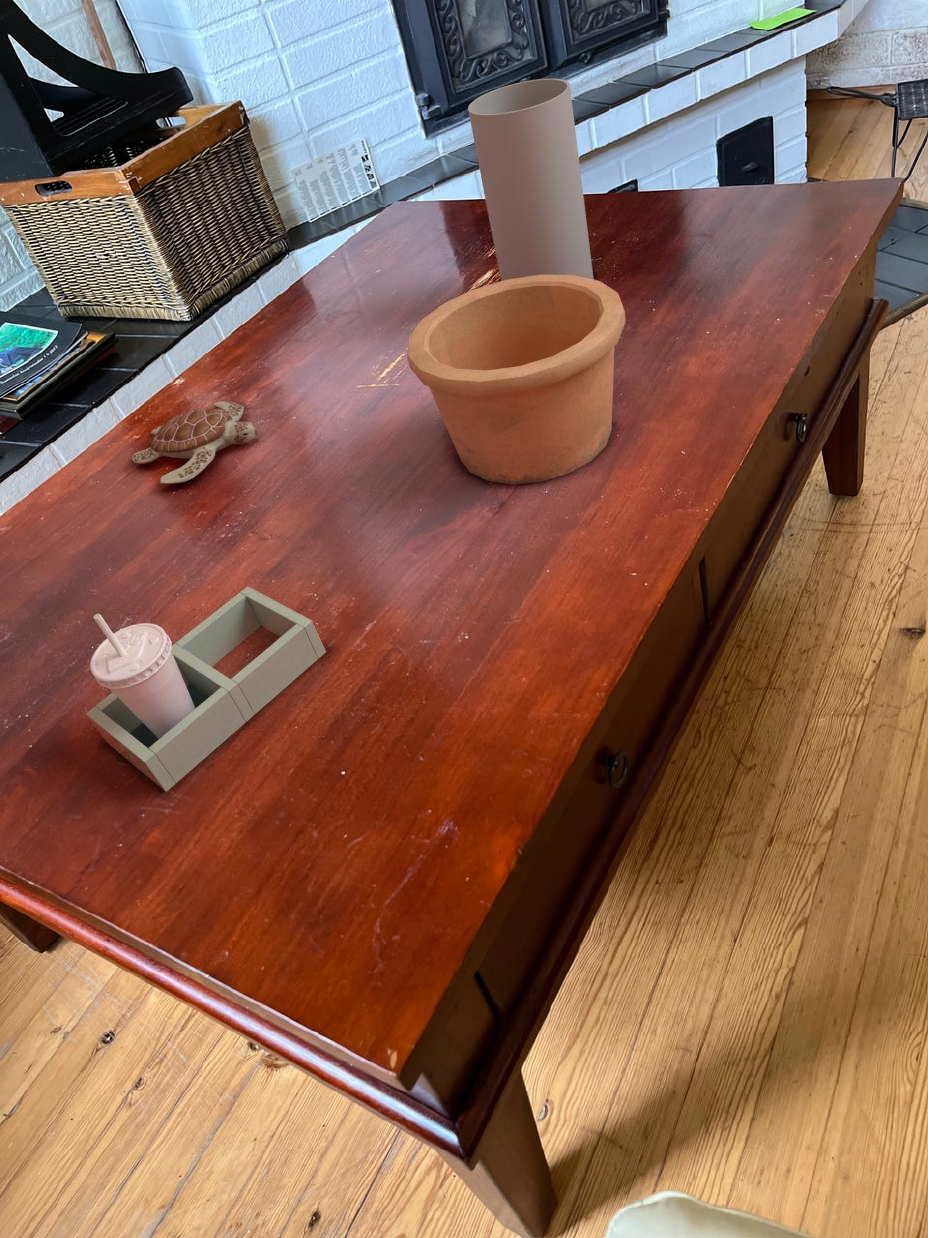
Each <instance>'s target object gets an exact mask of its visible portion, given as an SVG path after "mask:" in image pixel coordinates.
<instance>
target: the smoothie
mask: <svg viewBox="0 0 928 1238" xmlns="http://www.w3.org/2000/svg"><path fill="white" fill-rule="evenodd" d="M93 620H94V621H95V623H96V624H97V626H98V627H99V628H100V630H101V631H102V633H103V634H104V636H105V637H106V639H105V640H103V641H102V642H101V643H100V644H99V645H98V647H97V648H96V649H95V651H94V653H92V656H91V659H90V662H89V670H90V672H91V674H92V676H93V677H94V678H95V680H96V681H95V682H97V683H98V684H99V685H100V686H101V687H103V688H106V689H109V690H110V691H111V693H112V692H113V693H114V694H115V695H116V696H117V697H118V698H119V699H120V700H121V701H122V702H123V703H124V704H125V705H126V706H127V707H128V708H129V709H130V710H131V711H132V712H133V713H134V714H135V715H136V716H137V717H138V718H139V719H140V720H141V721H142V722H143V723H144V724H145V725H146V726H147V727H148V728H149V729H150V731H151V732H152V733H153V734H154V735H155V736H156V737H157V738H158V739H160V738H161V737H162V736H164V735H165V734H166V733H167V732H168V731H170V730H171V729H172V728H173V727H174V726H176V725H177V724H178V723H179V722H180V721H182V720H183V719H184V718H185V717H186V716H187V715H189V714H190V713H191V712H192V711H193V710H195V709H196V708H195V706H194V704H193V701H192V699H191V697H190V694H189V692H188V690H187V687H186V685H185V683H184V680H183V678H182V675H181V673H180V671H179V668H178V666H177V664H176V661H175V659H174V656H173V654H172V652H171V649H172V645H173V644H172V639H171V638H170V636H169V635H168V634H167V633H166V631H165V630H164V629H163V627H161V626H160V625H158V624H155V623H149V622H145V623H136V624H132V625H128V626H126V627H123V628H121V629H119V630H117V631H115V632H113V631H112V629H111V628H110V626H109V625H108V624H107V622H106V621H105V618H103V616H102V615H101V614H100V613H96V614H94V615H93Z"/></svg>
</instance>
